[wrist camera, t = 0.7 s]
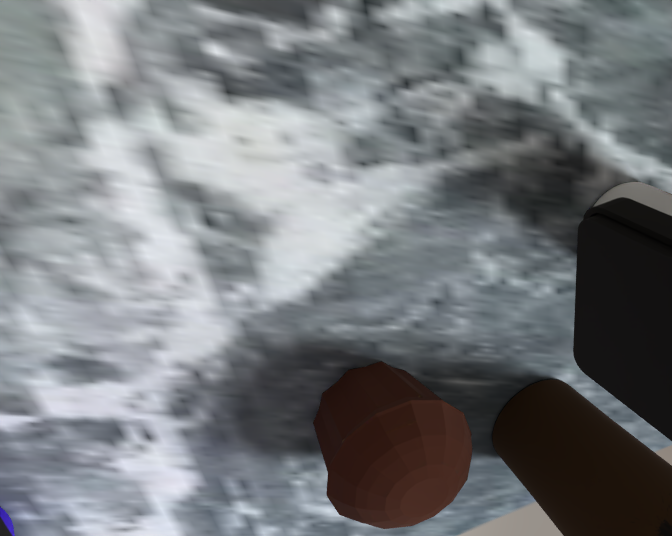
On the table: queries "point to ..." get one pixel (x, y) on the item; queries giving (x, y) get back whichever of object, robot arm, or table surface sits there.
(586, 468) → the olive oil
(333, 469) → the muffin
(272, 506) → the table surface
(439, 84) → the table surface
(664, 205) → the milk bottle
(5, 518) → the bottle
